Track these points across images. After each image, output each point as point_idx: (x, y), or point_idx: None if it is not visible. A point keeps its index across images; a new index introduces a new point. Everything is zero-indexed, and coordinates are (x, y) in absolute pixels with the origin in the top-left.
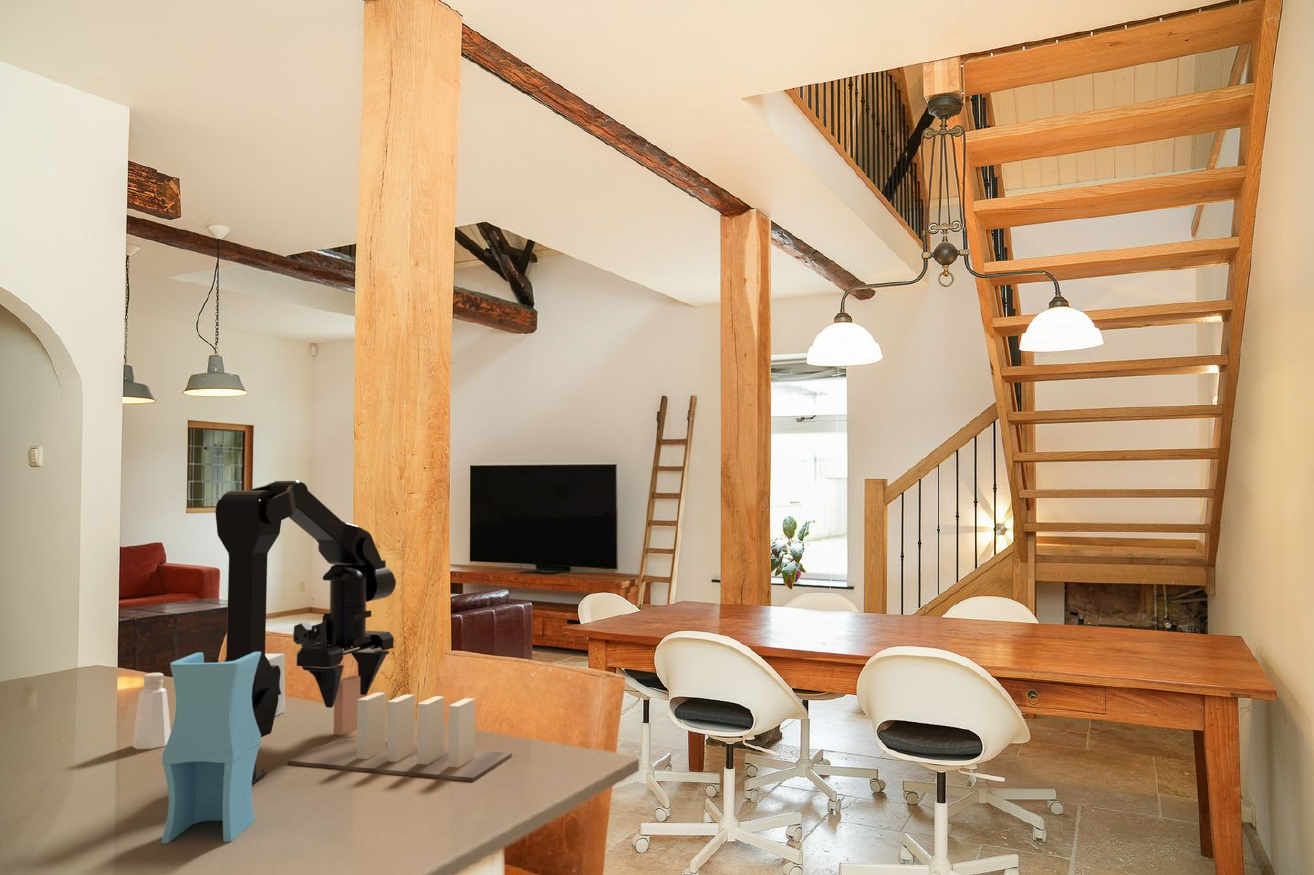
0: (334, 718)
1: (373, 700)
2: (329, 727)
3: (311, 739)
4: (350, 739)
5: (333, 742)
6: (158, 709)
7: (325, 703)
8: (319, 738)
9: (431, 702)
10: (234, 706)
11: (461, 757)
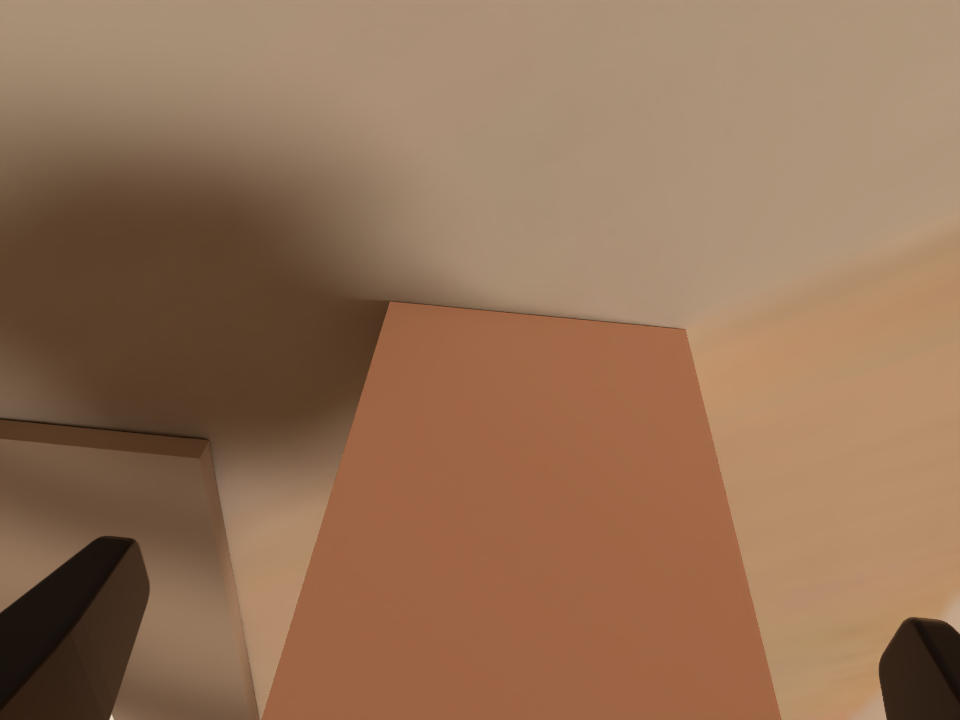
0: (358, 408)
1: None
2: (652, 110)
3: (166, 185)
4: (212, 537)
5: (89, 470)
6: None
7: (57, 580)
8: (228, 242)
9: None
10: None
11: None
